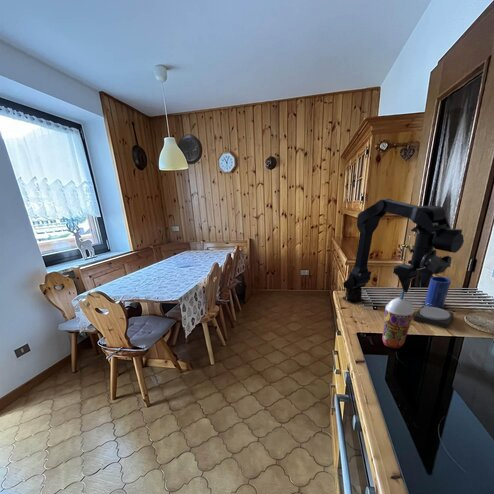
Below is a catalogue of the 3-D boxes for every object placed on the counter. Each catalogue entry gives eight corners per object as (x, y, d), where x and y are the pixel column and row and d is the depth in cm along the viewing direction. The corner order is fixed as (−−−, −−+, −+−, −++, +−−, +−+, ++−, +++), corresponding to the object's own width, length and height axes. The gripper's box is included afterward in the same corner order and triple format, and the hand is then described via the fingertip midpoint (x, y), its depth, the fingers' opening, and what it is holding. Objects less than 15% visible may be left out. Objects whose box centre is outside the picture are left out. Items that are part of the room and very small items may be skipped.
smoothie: (379, 348, 96) (389, 294, 86) (379, 336, 102) (388, 284, 93) (407, 352, 93) (420, 297, 84) (404, 339, 99) (417, 286, 90)
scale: (413, 320, 111) (415, 313, 110) (421, 310, 118) (422, 304, 117) (446, 328, 104) (448, 321, 103) (452, 317, 112) (454, 310, 110)
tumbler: (421, 303, 124) (427, 278, 119) (431, 299, 126) (438, 275, 121) (436, 309, 118) (443, 283, 113) (447, 305, 120) (454, 280, 115)
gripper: (427, 256, 85) (417, 303, 92) (466, 246, 91) (453, 291, 98) (396, 249, 94) (388, 292, 101) (433, 240, 100) (423, 282, 107)
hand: (414, 289), depth 102 cm, fingers open, 9 cm apart
